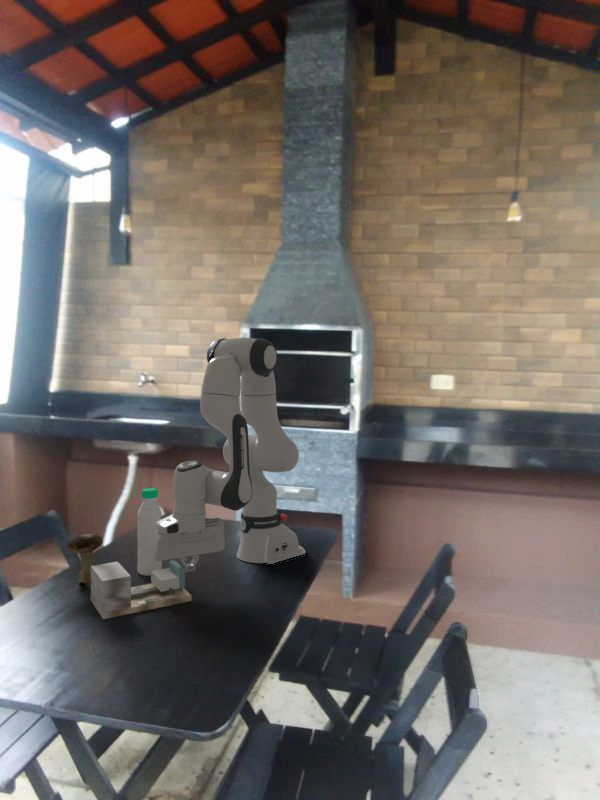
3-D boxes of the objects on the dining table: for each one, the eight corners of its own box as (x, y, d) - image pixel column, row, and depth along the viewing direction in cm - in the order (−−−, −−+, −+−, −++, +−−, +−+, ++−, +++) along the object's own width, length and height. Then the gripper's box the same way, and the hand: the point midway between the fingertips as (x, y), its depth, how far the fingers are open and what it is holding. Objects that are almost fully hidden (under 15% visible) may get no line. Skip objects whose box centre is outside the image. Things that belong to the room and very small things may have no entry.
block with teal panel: (174, 577, 173) (174, 559, 173) (188, 590, 164) (188, 572, 164) (151, 581, 170) (151, 563, 169) (164, 595, 161) (164, 576, 160)
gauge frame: (174, 584, 176) (174, 551, 175) (191, 600, 165) (191, 565, 164) (90, 600, 164) (90, 565, 163) (103, 619, 153) (102, 581, 152)
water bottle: (155, 577, 181) (155, 492, 179) (133, 575, 182) (132, 491, 180) (165, 569, 188) (165, 487, 186) (144, 566, 189) (143, 485, 187)
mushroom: (108, 588, 172) (108, 535, 171) (78, 596, 166) (77, 541, 165) (93, 578, 179) (92, 527, 178) (63, 586, 173) (62, 533, 172)
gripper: (219, 514, 178) (218, 561, 179) (149, 523, 167) (149, 573, 168) (229, 519, 173) (228, 568, 174) (157, 529, 162) (157, 581, 163)
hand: (188, 570), depth 171 cm, fingers closed
